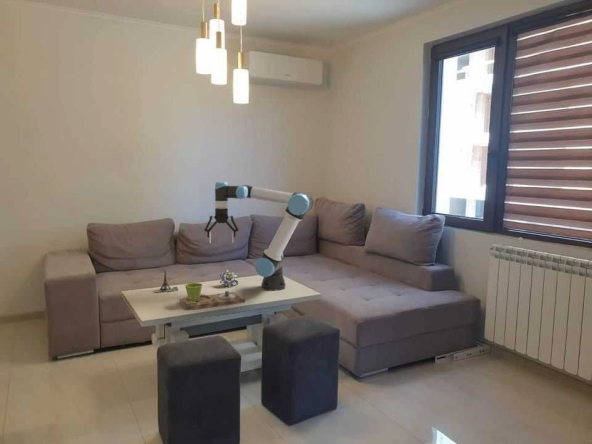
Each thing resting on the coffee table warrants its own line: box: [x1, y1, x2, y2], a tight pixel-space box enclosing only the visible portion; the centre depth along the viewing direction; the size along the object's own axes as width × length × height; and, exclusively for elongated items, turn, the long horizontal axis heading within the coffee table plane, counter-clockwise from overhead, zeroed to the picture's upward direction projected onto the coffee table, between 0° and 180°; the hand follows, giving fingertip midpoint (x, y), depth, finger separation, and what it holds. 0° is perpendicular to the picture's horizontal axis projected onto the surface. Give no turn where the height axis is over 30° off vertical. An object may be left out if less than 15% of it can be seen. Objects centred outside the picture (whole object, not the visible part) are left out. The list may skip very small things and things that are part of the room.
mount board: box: [179, 290, 246, 311], centre depth 254 cm, size 32×16×5 cm, turn 119°
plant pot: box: [184, 282, 203, 302], centre depth 249 cm, size 9×9×9 cm
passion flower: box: [219, 269, 239, 288], centre depth 290 cm, size 11×11×12 cm
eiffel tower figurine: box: [156, 270, 179, 293], centre depth 277 cm, size 15×10×13 cm
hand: (221, 242), depth 279 cm, fingers open, 13 cm apart
